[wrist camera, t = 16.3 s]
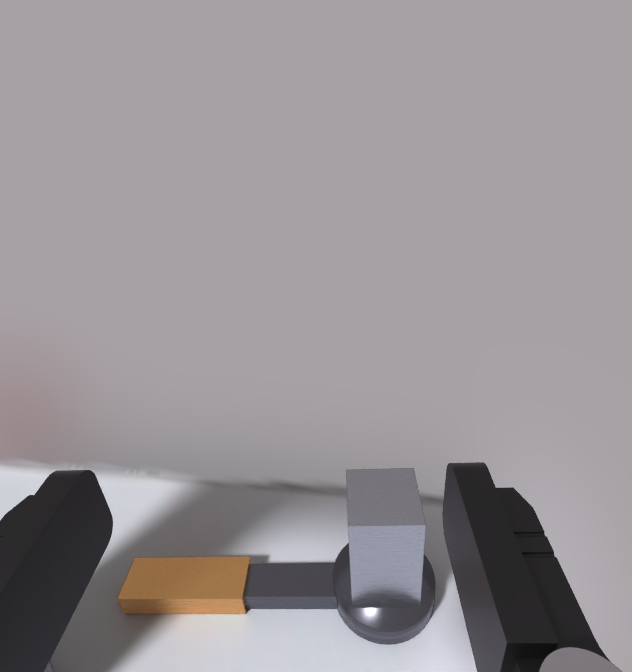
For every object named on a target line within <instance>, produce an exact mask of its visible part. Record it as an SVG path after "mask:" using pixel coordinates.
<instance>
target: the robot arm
mask: <svg viewBox="0 0 632 672" xmlns="http://www.w3.org/2000/svg"><path fill="white" fill-rule="evenodd" d="M443 527H444V535H445V540H446V544H447V549H448V553H449V557H450V561H451V565H452V569H453V573H454V577H455V581H456V586H457V590H458V594H459V598H460V602H461V606H462V610H463V614H464V618H465V623H466V627H467V631H468V635H469V639H470V643H471V647H472V651H473V655H474V660H475V664H476V668H477V672H622V671H621V670H620V669H618V668H617V667H616V666H615V665H614V664H613V663H611V662H610V661H609V659H608V658H607V657H606V656H605V654H604V653H603V651H602V650H601V649H600V647H599V645H598V643H597V642H596V640H595V638H594V636H593V634H592V632H591V630H590V627H589V625H588V623H587V621H586V619H585V617H584V615H583V613H582V610H581V608H580V606H579V604H578V602H577V600H576V598H575V596H574V594H573V591H572V589H571V587H570V585H569V583H568V581H567V579H566V577H565V575H564V572H563V570H562V568H561V566H560V564H559V562H558V560H557V558H556V557H555V556H554V551H553V549H552V547H551V545H550V543H549V541H548V538H547V537H545V535H544V530H543V528H542V526H541V524H540V522H539V519H538V517H537V515H536V513H535V511H534V509H533V507H532V506H531V505H530V504H529V503H528V502H527V501H526V500H525V499H524V498H523V497H522V496H521V495H520V494H519V493H518V492H517V491H516V490H515V489H514V488H495V485H494V483H493V480H492V478H491V475H490V473H489V470H488V468H487V466H486V464H485V463H449V464H448V466H447V472H446V482H445V492H444V503H443ZM112 528H113V519H112V515H111V512H110V509H109V507H108V505H107V502H106V500H105V497H104V495H103V493H102V490H101V488H100V485H99V483H98V480H97V478H96V476H95V474H94V473H93V472H92V471H90V470H71V471H55V472H53V473H52V474H50V475H49V476H48V478H47V479H46V480H45V482H44V483H43V484H42V486H41V487H40V488H39V490H38V491H37V492H36V494H35V495H29V496H28V497H26V498H25V499H24V500H23V501H21V502H20V503H19V504H18V505H16V506H15V507H14V508H13V509H12V510H10V511H9V512H8V513H7V514H5V516H4V517H3V518H2V519H1V521H0V672H53V671H52V667H51V664H50V662H49V661H50V659H51V657H52V655H53V653H54V651H55V649H56V647H57V645H58V643H59V641H60V639H61V637H62V635H63V633H64V631H65V629H66V627H67V625H68V623H69V621H70V619H71V617H72V615H73V613H74V611H75V609H76V607H77V605H78V603H79V601H80V599H81V597H82V595H83V593H84V591H85V589H86V587H87V585H88V583H89V581H90V579H91V577H92V575H93V573H94V571H95V569H96V567H97V565H98V563H99V561H100V559H101V558H102V556H103V554H104V552H105V550H106V548H107V546H108V543H109V541H110V538H111V534H112Z"/></svg>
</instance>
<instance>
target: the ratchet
mask: <svg viewBox="0 0 632 672" xmlns="http://www.w3.org/2000/svg"><path fill="white" fill-rule="evenodd" d="M434 595H435V577H434V573H433V569H432V567H431V564H430V562H429V561H428V559H427V557H426V556H425V555H424V557H423V572H422V586H421V601H420V608H352V593H351V574H350V555H349V543H348V544H347V545H346V546H345V547H344V548H343V549H342V550H341V552H340V553H339V555H338V557H337V559H336V561H335V563H308V564H251V559H250V557H137V558H135V559H134V561H133V564H132V566H131V568H130V571H129V573H128V575H127V578H126V580H125V582H124V584H123V587H122V589H121V591H120V594H119V596H118V598H117V600H118V602H119V604H120V606H121V608H122V611H123V613H124V614H246V610H247V609H337V610H338V612H339V614H340V616H341V618H342V619H343V621H344V622H345V624H346V625H347V626H348V627H349V628H350V629H351V630H352V631H353V632H354V633H356V634H357V635H359V636H360V637H362V638H364V639H366V640H368V641H371V642H374V643H379V644H388V645H389V644H398V643H402V642H405V641H408V640H410V639H411V638H413V637H415V636H416V635H417V634H419V633H420V632H421V631H422V630H423V629H424V628H425V626H426V625H427V623H428V621H429V619H430V617H431V614H432V611H433V605H434Z"/></svg>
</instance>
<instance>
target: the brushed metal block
mask: <svg viewBox="0 0 632 672" xmlns="http://www.w3.org/2000/svg"><path fill="white" fill-rule="evenodd" d="M346 477H347V510H348V536H349V555H350V574H351V593H352V608H420V601H421V586H422V572H423V557H424V542H425V528H426V524H425V520H424V515H423V510H422V505H421V501H420V496H419V491H418V486H417V482H416V477H415V472H414V468H401V469H361V470H360V469H359V470H346Z"/></svg>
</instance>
